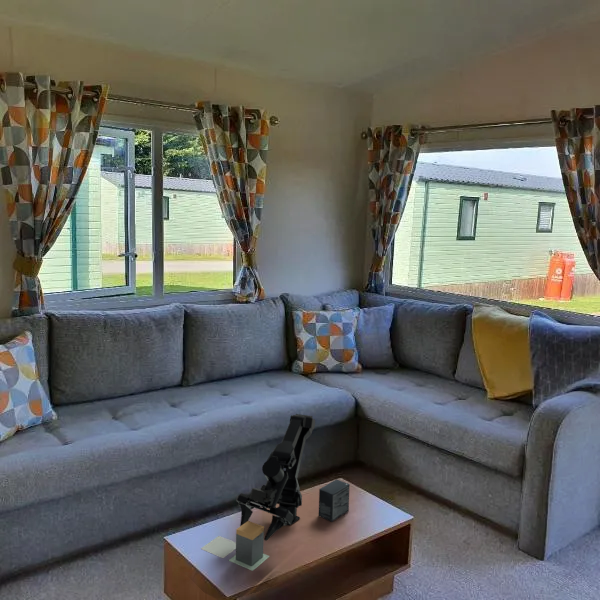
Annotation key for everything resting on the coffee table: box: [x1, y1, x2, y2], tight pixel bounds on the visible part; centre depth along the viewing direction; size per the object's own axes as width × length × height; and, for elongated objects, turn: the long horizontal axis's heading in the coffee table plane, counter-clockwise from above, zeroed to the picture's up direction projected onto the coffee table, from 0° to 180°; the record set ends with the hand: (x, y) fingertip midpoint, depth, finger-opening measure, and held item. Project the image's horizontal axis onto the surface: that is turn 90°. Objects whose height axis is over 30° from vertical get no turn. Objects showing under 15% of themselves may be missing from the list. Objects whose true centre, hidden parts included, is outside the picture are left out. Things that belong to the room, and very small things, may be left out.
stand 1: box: [200, 535, 236, 559], centre depth 185 cm, size 9×9×1 cm
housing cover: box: [235, 520, 265, 540], centre depth 178 cm, size 6×6×3 cm
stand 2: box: [228, 553, 270, 572], centre depth 179 cm, size 9×9×1 cm
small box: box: [318, 479, 350, 523], centre depth 209 cm, size 11×6×10 cm, turn 141°
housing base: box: [235, 531, 265, 566], centre depth 179 cm, size 6×6×8 cm
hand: (252, 535), depth 180 cm, fingers open, 9 cm apart
